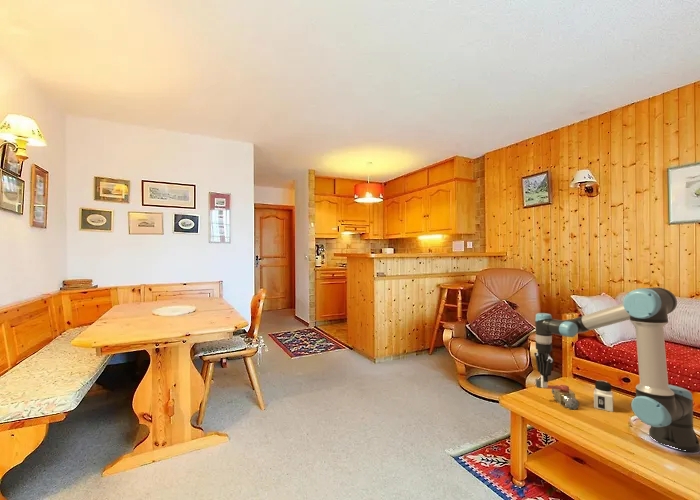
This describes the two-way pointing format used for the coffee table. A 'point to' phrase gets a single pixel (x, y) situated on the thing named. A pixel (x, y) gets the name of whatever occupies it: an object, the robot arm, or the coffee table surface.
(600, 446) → the coffee table surface
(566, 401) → the valve pipe
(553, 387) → the lever
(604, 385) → the container
